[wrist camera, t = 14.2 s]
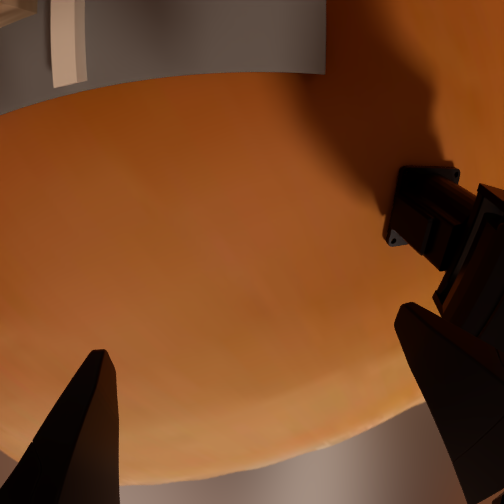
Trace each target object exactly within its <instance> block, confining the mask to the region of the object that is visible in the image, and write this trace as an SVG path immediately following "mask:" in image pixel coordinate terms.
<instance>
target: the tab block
mask: <svg viewBox="0 0 504 504" xmlns="http://www.w3.org/2000/svg"><path fill="white" fill-rule="evenodd" d="M37 3H38V0H0V28H1V27H4V26H6V25H8V24H11V23H13V22H16V21H18V20H21V19H23V18H26V17H29V16H31V15H34V14H37Z"/></svg>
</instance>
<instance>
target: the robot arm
mask: <svg viewBox="0 0 504 504" xmlns="http://www.w3.org/2000/svg"><path fill="white" fill-rule="evenodd" d="M406 171H407V173H406V175H405V172H406ZM459 177H460V170H459V169H457V168H455V167H439V166H403V167H401V169H400V171H399V175H398V181H397V187H396V193H395V198H394V203H393V209H392V214H391V218H390V223H389V228H388V233H387V237H386V243H387V244H388V245H389V246H391V247H393V246H400V245H406V244H409V245H410V246H411V247H412V248H413V249H414V250H416V251H417V252H418V253H419V254H420V255H423V256H424V257H425V258H426V259H427V260H429V261H430V262H431V263H432V264H433V265H434V266H435V267H436V268H437V269H438V270H439V271H445V275H444V277H443V279H442V281H441V283H440V285H439V287H438V289H437V290H436V291H435V292H434V294H433V296H432V298H433V300H434V302H435V305H436V307H437V309H438V311H439V313H440V315H441V317H442V318H441V317H439V316H438V315H436V314H434V313H432V312H430V311H429V310H427V309H425V308H423V307H421V306H419V305H418V304H416V303H414V302H409V303H405V304H402V305H401V306H400V309H399V311H398V314H397V317H396V319H395V322H394V328H395V331H396V333H397V336H398V339H399V341H400V344H401V346H402V349H403V351H404V354H405V357H406V359H407V362H408V364H409V367H410V369H411V371H412V373H413V375H414V377H415V379H416V382H417V384H418V386H419V388H420V390H421V392H422V394H423V396H424V398H425V401H426V403H427V405H428V407H429V409H430V411H431V414H432V416H433V418H434V421H435V423H436V425H437V427H438V430H439V432H440V434H441V436H442V439H443V441H444V444H445V446H446V449H447V451H448V453H449V456H450V458H451V461H452V464H453V466H454V469H455V471H456V474H457V477H458V479H459V482H460V485H461V487H462V490H463V493H464V496H465V499H466V501H467V504H477V503H479V502H481V501H483V500H485V499H486V498H488V497H490V496H492V495H493V494H495V493H497V492H498V491H500V490H502V489H503V488H504V190H502V189H499V188H495V187H492V186H488V185H485V184H481V183H479V186H478V189H477V191H478V193H477V196H476V195H474V194H472V193H471V192H469V191H468V190H466V189H464V188H463V187H461V186H459V185H458V182H459ZM392 239H393V240H392ZM0 504H120V497H119V414H118V401H117V385H116V371H115V367H114V365H113V363H112V361H111V359H110V357H109V354H108V352H107V351H106V350H105V349H99V350H92V351H91V352H90V353H89V355H88V356H87V358H86V359H85V361H84V362H83V363H82V365H81V366H80V368H79V369H78V371H77V372H76V374H75V375H74V377H73V378H72V380H71V381H70V382H69V384H68V385H67V387H66V388H65V390H64V391H63V393H62V394H61V396H60V397H59V399H58V401H57V402H56V404H55V405H54V407H53V408H52V410H51V411H50V413H49V414H48V416H47V418H46V419H45V421H44V422H43V424H42V426H41V427H40V429H39V430H38V432H37V434H36V435H35V437H34V439H33V442H31V443H30V445H29V447H28V448H27V450H26V452H25V453H24V455H23V456H22V458H21V460H20V461H19V463H18V465H17V466H16V467H15V469H14V470H13V472H12V473H11V474H10V476H9V477H8V479H7V480H6V481H5V483H4V484H3V486H2V487H1V488H0ZM492 504H504V492H503V493H502V494H500V495H499V496H498V497H497V498H495V499H494V500H493V501H492Z"/></svg>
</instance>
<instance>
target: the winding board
mask: <svg viewBox="0 0 504 504" xmlns="http://www.w3.org/2000/svg"><path fill="white" fill-rule="evenodd" d="M325 66H326V0H38V3H37V14H34V15H31V16H29V17H26V18H23V19H21V20H18V21H16V22H13V23H11V24H8V25H6V26H4V27H1V28H0V115H2V114H5V113H8V112H11V111H13V110H16V109H19V108H23V107H26V106H29V105H32V104H35V103H39V102H42V101H46V100H49V99H53V98H57V97H60V96H64V95H68V94H72V93H77V92H81V91H85V90H90V89H95V88H99V87H104V86H110V85H115V84H121V83H127V82H133V81H139V80H146V79H154V78H162V77H171V76H181V75H192V74H206V73H226V72H290V73H310V74H324V75H325Z"/></svg>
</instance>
